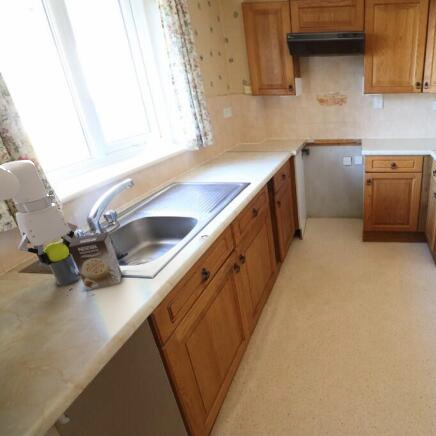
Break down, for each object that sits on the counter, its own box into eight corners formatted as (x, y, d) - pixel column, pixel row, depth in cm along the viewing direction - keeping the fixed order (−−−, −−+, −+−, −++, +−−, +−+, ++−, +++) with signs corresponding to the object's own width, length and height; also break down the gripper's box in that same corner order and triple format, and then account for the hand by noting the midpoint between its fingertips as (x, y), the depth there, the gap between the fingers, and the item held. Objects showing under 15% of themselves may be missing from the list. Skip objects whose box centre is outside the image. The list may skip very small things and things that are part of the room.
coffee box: (86, 293, 97) (66, 247, 91) (91, 281, 103) (72, 237, 96) (120, 285, 101) (103, 239, 94) (123, 274, 106) (107, 231, 99)
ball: (55, 267, 96) (47, 250, 94) (44, 263, 99) (35, 246, 96) (76, 257, 101) (69, 240, 98) (65, 254, 103) (57, 237, 101)
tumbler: (65, 289, 100) (54, 264, 96) (55, 285, 102) (43, 261, 98) (84, 279, 104) (73, 255, 101) (73, 275, 106) (63, 252, 103)
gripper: (59, 192, 100) (80, 243, 108) (-11, 214, 86) (19, 270, 94) (74, 195, 97) (94, 247, 105) (3, 218, 83) (33, 276, 91)
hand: (59, 257), depth 99 cm, fingers closed on ball, 5 cm apart
